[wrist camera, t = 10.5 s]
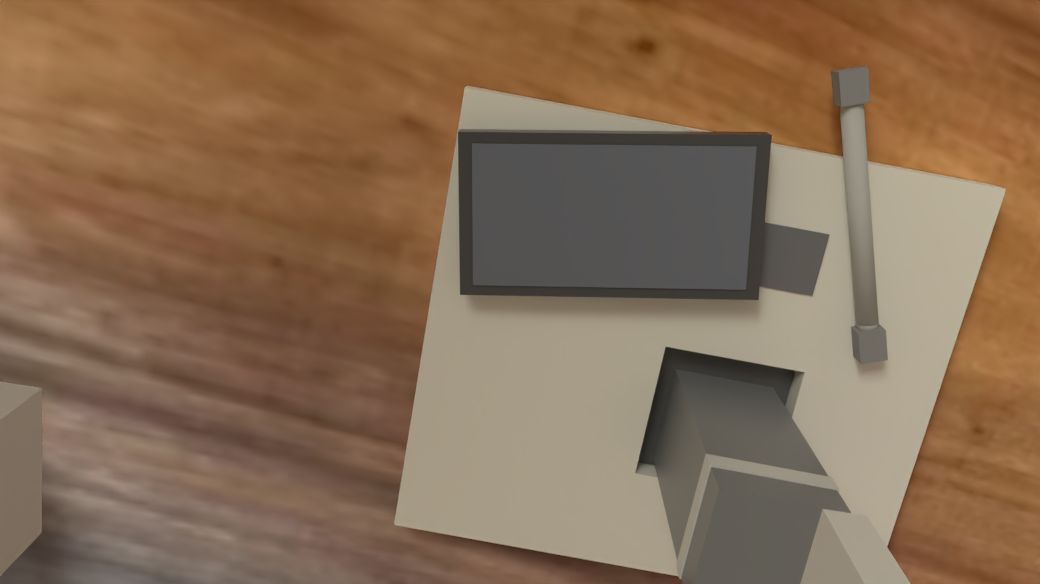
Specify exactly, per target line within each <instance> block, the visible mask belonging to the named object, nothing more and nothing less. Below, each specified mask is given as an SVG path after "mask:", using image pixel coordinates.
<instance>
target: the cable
mask: <svg viewBox="0 0 1040 584" xmlns="http://www.w3.org/2000/svg"><path fill="white" fill-rule="evenodd" d="M831 76H832V89H833V102H834V105H835V106H839V107H840V119H841V132H842V145H843V158H844V172H845V185H846V198H847V211H848V224H849V237H850V251H851V264H852V277H853V290H854V303H855V317H856V326H851V334H852V347H853V356H854V357H855V358H856V359H857V361H858V362H859V363H860V364H864V363H871V362H878V361H885V360H888V354H887V339H886V330H885V329H884V328H883V327H882V326H881V325H880V324H879V319H878V304H877V290H876V275H875V261H874V246H873V232H872V217H871V203H870V188H869V174H868V159H867V145H866V130H865V116H864V105H863V104H864V103H870V102H871V100H870V85H869V70H868V67H861V66H859V67H853V68H847V69H841V70H835V71H831Z"/></svg>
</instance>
